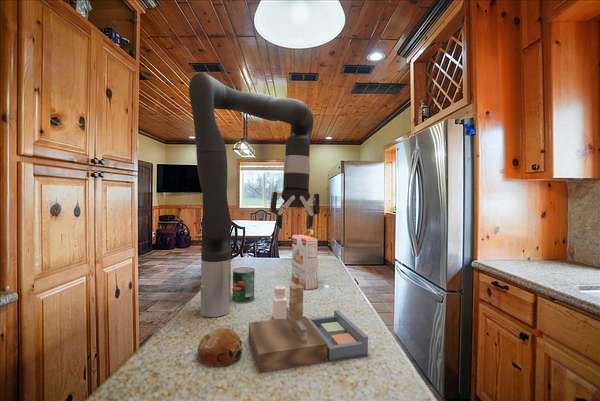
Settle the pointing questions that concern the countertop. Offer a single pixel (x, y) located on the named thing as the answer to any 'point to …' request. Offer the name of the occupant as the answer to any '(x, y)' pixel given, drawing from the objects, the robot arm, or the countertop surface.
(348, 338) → the terracotta tile
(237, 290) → the canned tomato
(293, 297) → the long tan wooden block
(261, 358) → the board
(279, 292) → the pepper shaker
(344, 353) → the tray
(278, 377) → the countertop surface
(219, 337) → the bread roll
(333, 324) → the sage tile
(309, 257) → the cracker box
